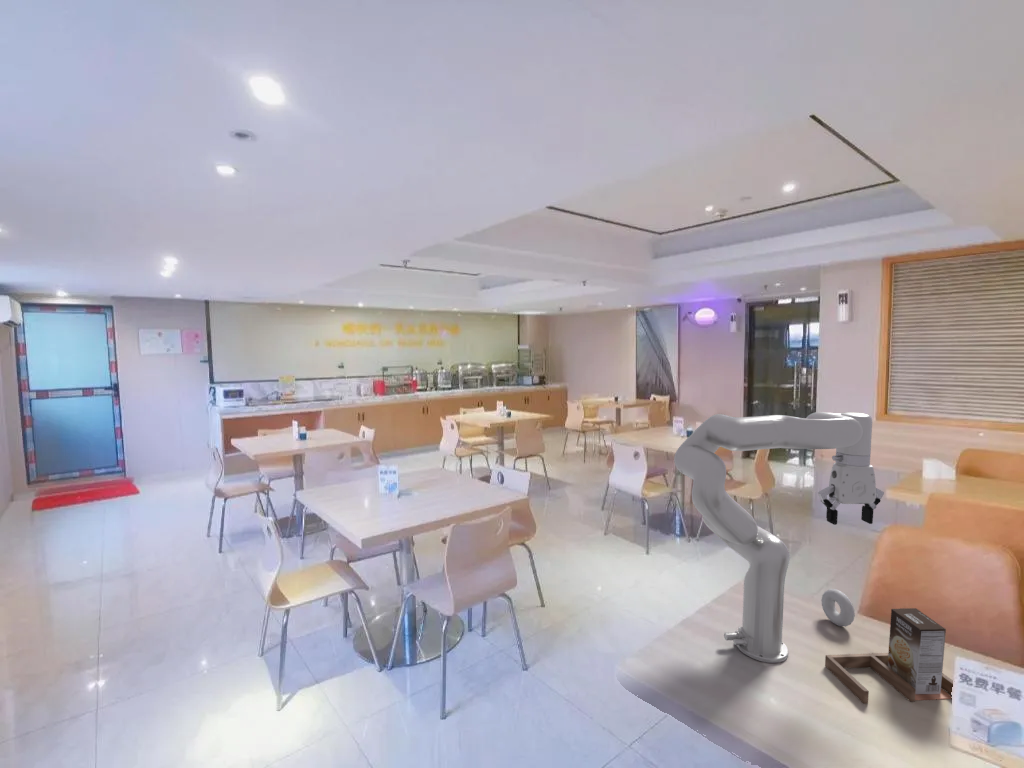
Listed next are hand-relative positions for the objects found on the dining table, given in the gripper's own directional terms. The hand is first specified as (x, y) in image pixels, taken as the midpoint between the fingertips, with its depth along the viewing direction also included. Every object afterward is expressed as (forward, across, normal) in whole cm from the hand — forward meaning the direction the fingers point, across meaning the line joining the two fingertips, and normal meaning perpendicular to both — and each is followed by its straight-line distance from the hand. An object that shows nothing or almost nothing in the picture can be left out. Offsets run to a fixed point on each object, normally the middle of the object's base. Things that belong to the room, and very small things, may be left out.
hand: (849, 522), depth 133 cm
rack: (+33, 0, -17) cm, 37 cm away
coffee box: (+33, +5, -17) cm, 38 cm away
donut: (+34, +4, +8) cm, 35 cm away
